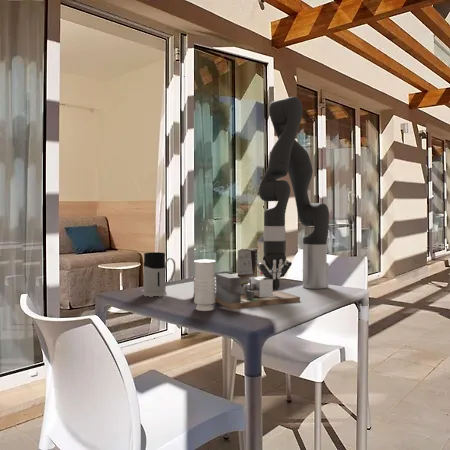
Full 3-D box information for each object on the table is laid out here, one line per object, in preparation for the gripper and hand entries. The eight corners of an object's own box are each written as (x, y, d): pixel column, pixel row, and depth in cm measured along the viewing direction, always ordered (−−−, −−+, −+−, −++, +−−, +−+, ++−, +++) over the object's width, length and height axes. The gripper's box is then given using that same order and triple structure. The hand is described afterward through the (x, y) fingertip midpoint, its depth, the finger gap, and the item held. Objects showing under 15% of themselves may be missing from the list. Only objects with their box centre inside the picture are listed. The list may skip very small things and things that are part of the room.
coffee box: (254, 295, 163) (254, 250, 163) (237, 294, 165) (237, 250, 164) (257, 290, 172) (257, 248, 172) (241, 289, 173) (241, 248, 173)
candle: (198, 312, 137) (198, 262, 136) (190, 307, 143) (190, 260, 143) (219, 309, 140) (219, 261, 139) (211, 305, 146) (210, 259, 145)
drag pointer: (249, 297, 148) (249, 278, 147) (254, 298, 145) (254, 279, 145) (246, 297, 147) (246, 278, 147) (250, 299, 144) (250, 279, 144)
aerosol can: (261, 275, 209) (261, 232, 208) (274, 277, 205) (275, 233, 204) (254, 277, 203) (254, 233, 202) (268, 279, 199) (268, 233, 199)
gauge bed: (280, 295, 163) (280, 268, 162) (299, 301, 152) (300, 273, 152) (214, 301, 152) (214, 273, 151) (230, 309, 141) (230, 278, 140)
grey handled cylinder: (154, 291, 171) (154, 251, 170) (183, 295, 163) (183, 253, 162) (137, 294, 164) (137, 253, 163) (166, 299, 155) (166, 256, 155)
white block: (261, 292, 157) (261, 276, 156) (272, 295, 150) (272, 279, 150) (240, 294, 153) (240, 278, 153) (250, 298, 147) (250, 281, 146)
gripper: (285, 238, 160) (284, 286, 161) (252, 239, 154) (252, 289, 155) (297, 239, 153) (297, 290, 154) (263, 240, 148) (263, 293, 148)
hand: (274, 289), depth 155 cm, fingers closed
